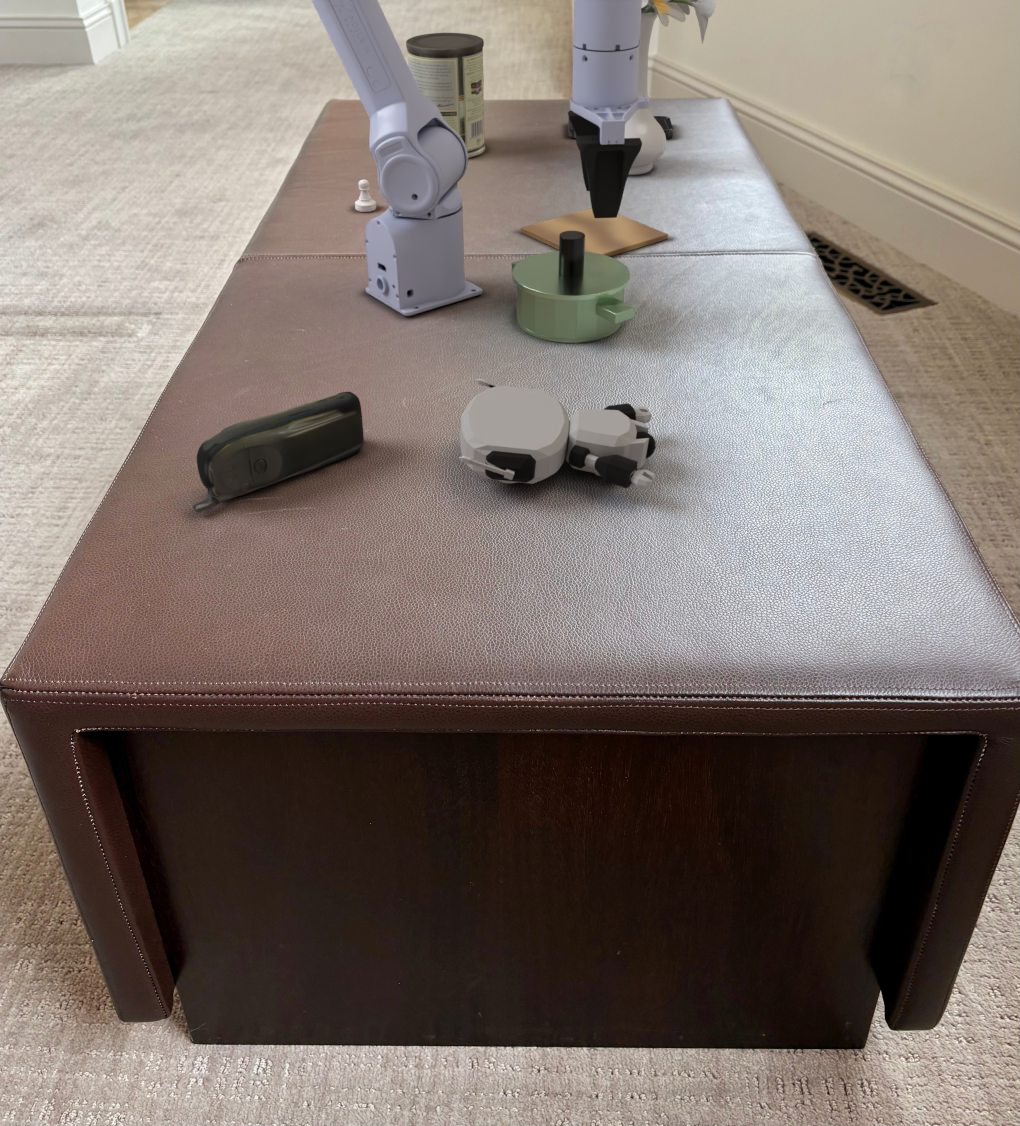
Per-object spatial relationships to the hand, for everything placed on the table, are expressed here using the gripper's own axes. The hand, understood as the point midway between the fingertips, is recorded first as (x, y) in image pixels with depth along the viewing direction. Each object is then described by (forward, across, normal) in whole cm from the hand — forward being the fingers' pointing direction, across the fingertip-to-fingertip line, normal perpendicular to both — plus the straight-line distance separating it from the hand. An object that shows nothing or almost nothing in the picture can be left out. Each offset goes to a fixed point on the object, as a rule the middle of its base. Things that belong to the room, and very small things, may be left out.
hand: (600, 203), depth 100 cm
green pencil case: (+10, -30, +27) cm, 42 cm away
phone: (+10, +63, -10) cm, 64 cm away
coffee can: (+10, +55, +16) cm, 58 cm away
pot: (+11, -2, +3) cm, 11 cm away
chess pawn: (+10, +31, +25) cm, 41 cm away
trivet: (+10, +20, -2) cm, 23 cm away
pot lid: (+6, -2, +3) cm, 7 cm away
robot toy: (+11, -29, +6) cm, 32 cm away
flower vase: (+11, +46, -10) cm, 48 cm away
